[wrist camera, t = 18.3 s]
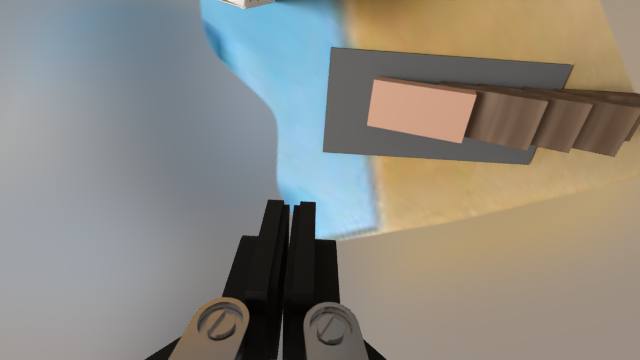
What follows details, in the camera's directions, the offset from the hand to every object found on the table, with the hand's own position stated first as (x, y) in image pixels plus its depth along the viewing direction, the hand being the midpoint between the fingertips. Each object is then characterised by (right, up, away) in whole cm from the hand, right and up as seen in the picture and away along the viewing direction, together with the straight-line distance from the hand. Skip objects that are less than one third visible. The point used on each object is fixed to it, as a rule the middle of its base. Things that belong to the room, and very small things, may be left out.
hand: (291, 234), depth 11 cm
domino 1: (+7, +11, +24) cm, 27 cm away
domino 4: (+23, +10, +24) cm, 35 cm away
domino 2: (+14, +10, +24) cm, 29 cm away
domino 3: (+18, +10, +24) cm, 32 cm away
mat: (+15, +10, +25) cm, 31 cm away
